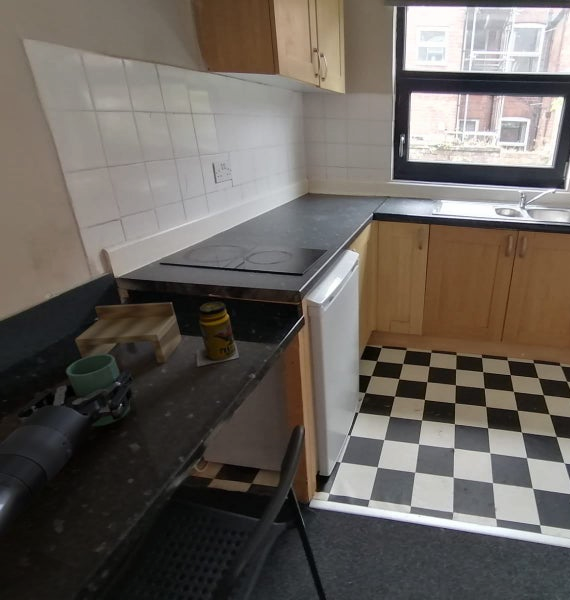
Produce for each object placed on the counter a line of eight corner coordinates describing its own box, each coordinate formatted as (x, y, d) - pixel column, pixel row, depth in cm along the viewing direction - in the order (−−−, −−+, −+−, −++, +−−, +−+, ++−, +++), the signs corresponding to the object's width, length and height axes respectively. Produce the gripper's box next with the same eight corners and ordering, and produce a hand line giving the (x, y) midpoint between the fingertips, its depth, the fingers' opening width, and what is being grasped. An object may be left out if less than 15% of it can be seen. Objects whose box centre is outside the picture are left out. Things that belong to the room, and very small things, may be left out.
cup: (76, 421, 67) (56, 371, 63) (112, 398, 73) (95, 351, 69) (105, 429, 66) (85, 379, 62) (139, 405, 71) (123, 357, 67)
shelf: (85, 368, 86) (69, 326, 81) (110, 344, 95) (97, 305, 90) (165, 362, 87) (153, 321, 83) (181, 339, 96) (172, 302, 92)
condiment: (239, 358, 89) (229, 309, 84) (197, 367, 86) (184, 317, 81) (235, 343, 95) (226, 296, 90) (196, 351, 92) (184, 303, 87)
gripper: (88, 421, 53) (144, 354, 68) (-33, 431, 52) (52, 360, 67) (105, 463, 56) (155, 390, 71) (-9, 474, 55) (67, 397, 70)
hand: (105, 376), depth 69 cm, fingers closed on cup, 6 cm apart
